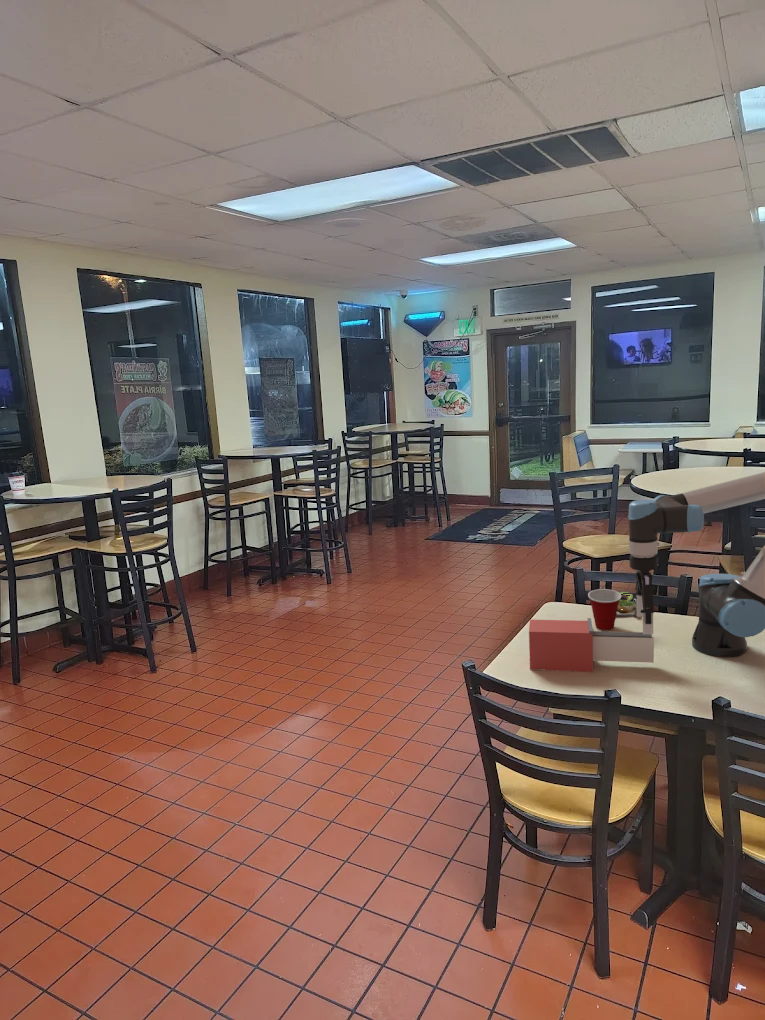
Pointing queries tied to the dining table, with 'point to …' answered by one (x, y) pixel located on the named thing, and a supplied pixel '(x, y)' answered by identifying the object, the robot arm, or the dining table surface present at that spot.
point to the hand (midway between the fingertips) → (644, 625)
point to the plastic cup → (604, 607)
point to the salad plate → (627, 605)
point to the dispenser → (561, 645)
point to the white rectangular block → (623, 646)
